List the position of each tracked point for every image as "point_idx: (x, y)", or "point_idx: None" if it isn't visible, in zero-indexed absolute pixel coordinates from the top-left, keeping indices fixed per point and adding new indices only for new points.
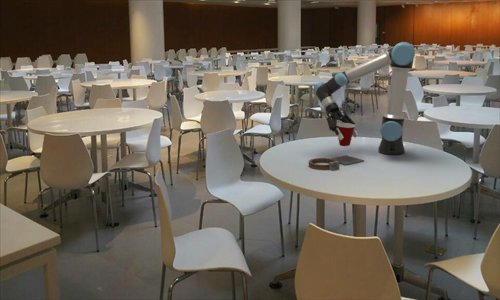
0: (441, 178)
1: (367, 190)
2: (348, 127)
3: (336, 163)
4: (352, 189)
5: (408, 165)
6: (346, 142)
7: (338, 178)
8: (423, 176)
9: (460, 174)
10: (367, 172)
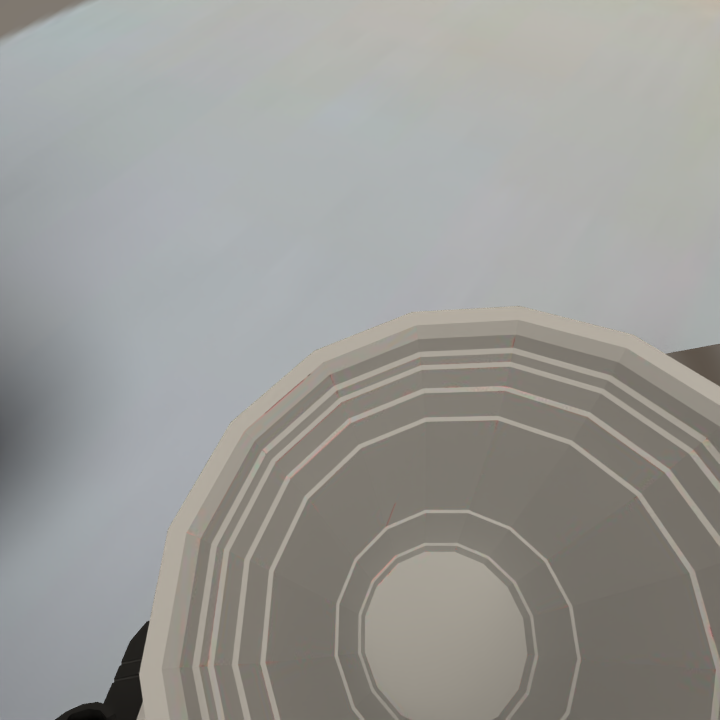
0: (157, 38)
1: (619, 21)
2: (536, 323)
3: (678, 354)
4: (693, 48)
5: (67, 257)
6: (472, 525)
7: (711, 205)
8: (202, 80)
9: (22, 51)
10: (443, 236)
